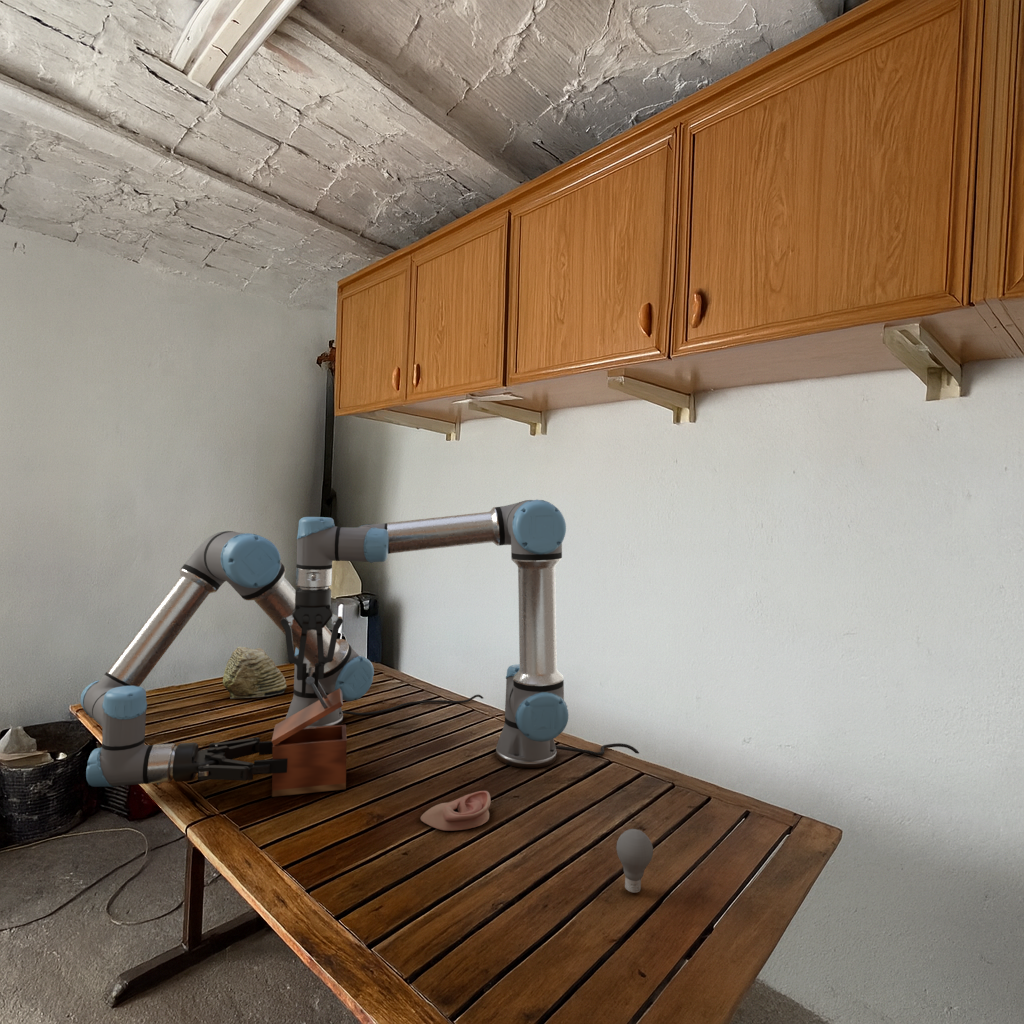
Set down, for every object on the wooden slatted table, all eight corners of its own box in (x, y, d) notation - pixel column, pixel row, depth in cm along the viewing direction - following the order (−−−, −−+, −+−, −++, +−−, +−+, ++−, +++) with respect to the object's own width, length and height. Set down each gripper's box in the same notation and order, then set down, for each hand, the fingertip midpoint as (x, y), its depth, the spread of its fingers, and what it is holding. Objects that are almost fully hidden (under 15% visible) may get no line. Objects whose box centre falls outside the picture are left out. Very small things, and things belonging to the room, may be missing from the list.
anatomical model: (415, 806, 123) (434, 781, 134) (414, 826, 123) (433, 799, 134) (481, 816, 120) (495, 789, 132) (480, 836, 120) (494, 808, 132)
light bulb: (610, 879, 108) (613, 822, 108) (644, 879, 109) (647, 822, 109) (619, 902, 102) (622, 840, 102) (655, 901, 103) (658, 840, 103)
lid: (342, 692, 146) (323, 658, 144) (343, 705, 136) (322, 670, 135) (277, 729, 142) (257, 695, 141) (273, 745, 133) (252, 709, 131)
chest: (344, 770, 146) (345, 724, 146) (346, 789, 137) (346, 740, 137) (275, 776, 142) (276, 729, 142) (271, 796, 133) (272, 746, 133)
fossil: (218, 695, 195) (220, 647, 195) (278, 685, 208) (279, 640, 207) (228, 703, 189) (230, 653, 188) (289, 692, 201) (290, 645, 201)
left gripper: (186, 758, 143) (291, 752, 149) (160, 805, 121) (284, 796, 128) (187, 725, 143) (292, 720, 149) (162, 767, 121) (286, 759, 127)
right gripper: (276, 589, 133) (272, 701, 133) (349, 589, 137) (345, 697, 138) (278, 584, 140) (275, 690, 141) (348, 585, 144) (344, 687, 145)
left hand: (288, 755), depth 138 cm, fingers closed on chest, 10 cm apart
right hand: (309, 693), depth 139 cm, fingers closed on lid, 2 cm apart
